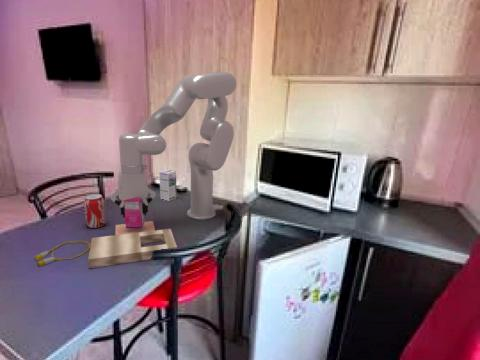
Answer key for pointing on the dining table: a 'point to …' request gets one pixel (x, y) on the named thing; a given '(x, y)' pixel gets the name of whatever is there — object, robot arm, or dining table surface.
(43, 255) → the extension cord
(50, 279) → the dining table surface
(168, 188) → the syrup box
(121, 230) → the mat
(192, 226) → the dining table surface
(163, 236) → the wooden cutout board
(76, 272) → the dining table surface
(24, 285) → the dining table surface
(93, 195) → the soda can
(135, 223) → the supplement box
